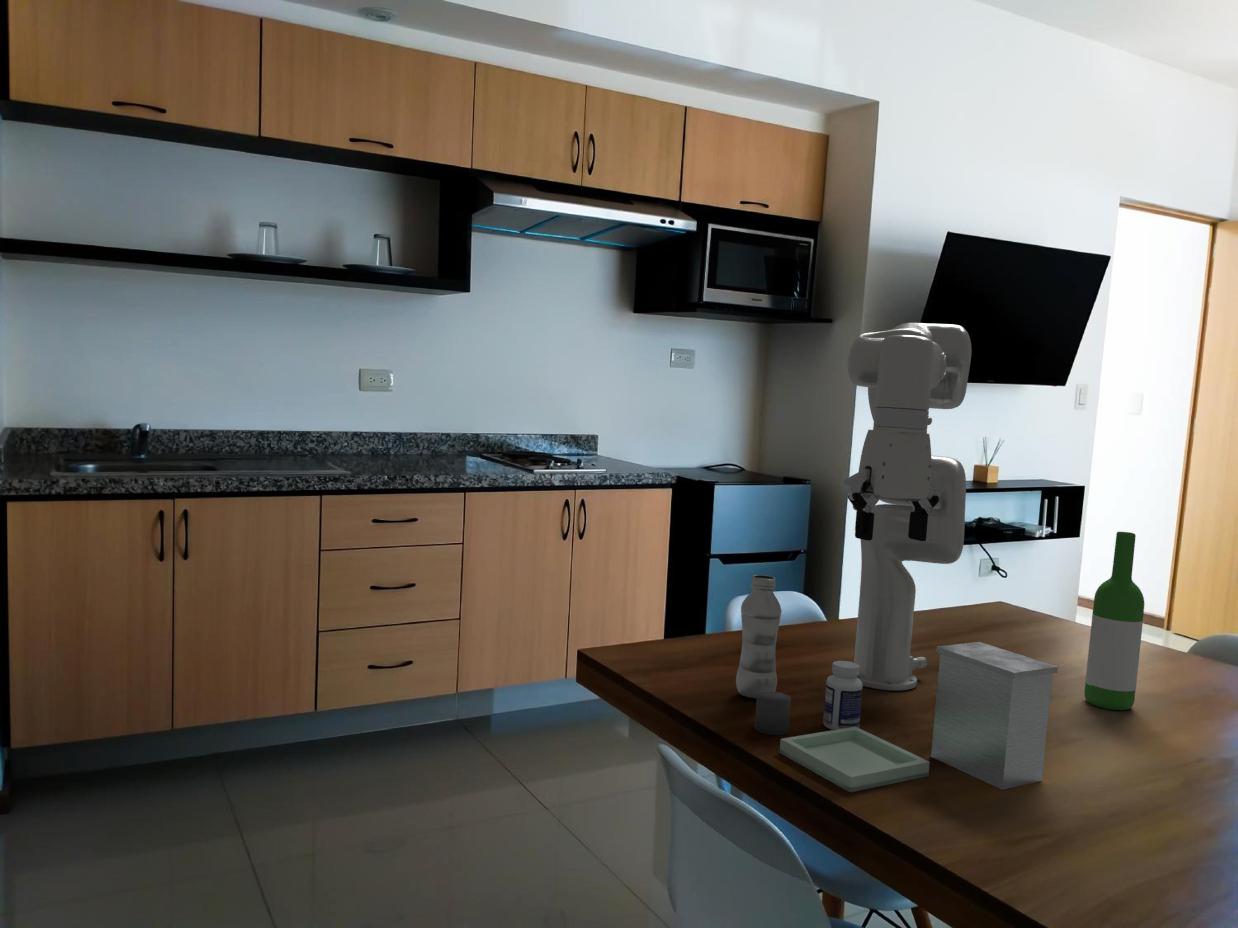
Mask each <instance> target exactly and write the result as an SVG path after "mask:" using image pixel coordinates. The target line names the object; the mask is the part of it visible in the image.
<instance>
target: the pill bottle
mask: <svg viewBox="0 0 1238 928" xmlns="http://www.w3.org/2000/svg"><path fill="white" fill-rule="evenodd" d="M831 667H832V668H831V672H832V673H833V674H831V675H829V676H828V677H827V679H826V683H825V692H824V693H825V695H824V696H825V697H824V705H823V706H824V707H823V721H822V723H823V725H824V727H825V728H827V729H828V730H830V731H832V730H838V729H844V728H850V727H857V728H859V729H860V724H861V713H862V712H861V710H862V697H863V687H864V686H863V685H862V682H861V680H860V679H858V678H857V676H858V675H859V665H858V664H856V663H854V661H848V660H837V661H836V660H835V661H833V662H832V666H831Z"/></svg>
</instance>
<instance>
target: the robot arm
mask: <svg viewBox="0 0 1238 928" xmlns="http://www.w3.org/2000/svg"><path fill="white" fill-rule="evenodd" d="M971 359H972V342H971V338H970V335H969V333H968V331H967V330H966V329H965V327H963V326H961V325H958V324H953V323H952V324H951V323H950V324H949V323H927V322H926V323H923V322H906V323H902V324H899V325H897V326H895V327H893V328H892V329H888V330H882V331H876V332H867V333H866V332H865V333H862V334H859V335H858V336H857V337H856V338H855V339H854V341H853V342H852V344H851V346H850V349H849V353H848V357H847V371H848V377H849V379H850V381H851V382H852V383H853V384H854V385H855V386H857V387H863V388H864V387H865V388H867V397H868V405H869V409H870V410H869V411H870V414H871V417H872V420H873V426H872V428H873V429H868V430H867V432H866V435H865V439H864V441H863V446H862V449H861V455H860V459H859V464H858V472H856V473H854V474H852V475H851V476H849V477H847V478H845V479H844V480H843V485H844V489H845V491H846V493H847V499H848V500H849V502H850V503H851V504H852V508H853V510H854V511H856V513H855V525H854V526H855V527H854V531H855V532H854V537H855V538H856V539H860V548H861V549H860V550H861V551H860V553H861V567H860V568H861V569H860V570H861V571H860V584H859V597H858V598H859V599H858V608H857V609H858V611H857V623H856V634H855V644H854V645H855V646H854V657H853V658H854V659H853V663H856V664H858V665H859V675H858V676H857V678H858V679H860V680H861V682H862V685H863V687H866V688H871V689H874V690H875V689H876V690H882V691H907V690H910V689H915V687H916V686H917V684H918V679H917V677H916V675H914V674H913V671H915V670H916V669H922V668H926V667H927V666H928V660H927V658H926V657H924V656H918V657H914V656H912V655H911V647H912V639H913V638H912V636H913V627H914V614H915V613H914V612H915V603H916V602H915V601H916V591H917V589H916V584H915V580H914V578H913V576H912V575H911V574H910V572H909V570H908V569H907V568H906V567H905V565H904V564H903V562H906V561H907V562H921V563H929V564H930V563H932V564H940V565H941V564H942V565H950V564H953V563H955V562H957V561H958V560H959V559H960V557H961V556H962V553H963V549H964V543H965V542H964V541H965V524H966V522H965V521H966V496H967V493H966V492H967V477H966V471H965V467H964V466H963V464H962V463H961V462H960V461H959V460H958V459H956V458H954V457H950V456H940V455H932V446H931V437H930V433H928V428H929V427H928V426H930V425H931V424H932V423H933V418H932V416H931V415H929V413H930V411H929V410H930V409H934V410H935V409H937V410H938V409H939V410H952V409H955V408H958V407H959V406H960V405H962V403H963V402H964V399H965V397H966V393H967V388H968V381H969V373H970V369H971V368H970V366H971V361H972V360H971ZM879 501H880V502H883V503H881V504H878V502H879Z"/></svg>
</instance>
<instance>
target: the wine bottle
mask: <svg viewBox="0 0 1238 928" xmlns="http://www.w3.org/2000/svg"><path fill="white" fill-rule="evenodd" d="M1135 545H1136V534H1135V533H1134V532H1129V531H1117V532H1116V535H1115V544H1114V553H1113V561H1112V570H1111V571H1112V572H1111V576H1110V578H1108V579H1107V580H1105V581H1103V582H1102V583H1101V584H1100V585H1099V586H1098V587H1097V589H1096V590H1095V593H1094V597H1093V608H1092V616H1091V624H1090V634H1089V645H1088V653H1087V662H1086V673H1085V684H1084V698H1085V700H1086V701H1087V702H1088V703H1090V704H1091V705H1093V706H1095V707H1099V708H1102V709H1106V710H1110V711H1111V710H1112V711H1127V710H1130V709H1132V708H1133V706H1134V705H1135V699H1136V698H1135V697H1136V691H1137V690H1136V689H1137V683H1138V681H1137V680H1138V671H1139V663H1140V662H1139V661H1140V651H1141V643H1142V633H1143V624H1144V623H1143V622H1144V612H1145V598H1144V595H1143V592H1142V590H1141V589H1140V587H1139V586H1138V585H1137V584H1136V583H1135V582H1134V581H1133V579H1132V578H1133V577H1132V576H1133V568H1134V558H1135V556H1134V555H1135Z"/></svg>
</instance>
